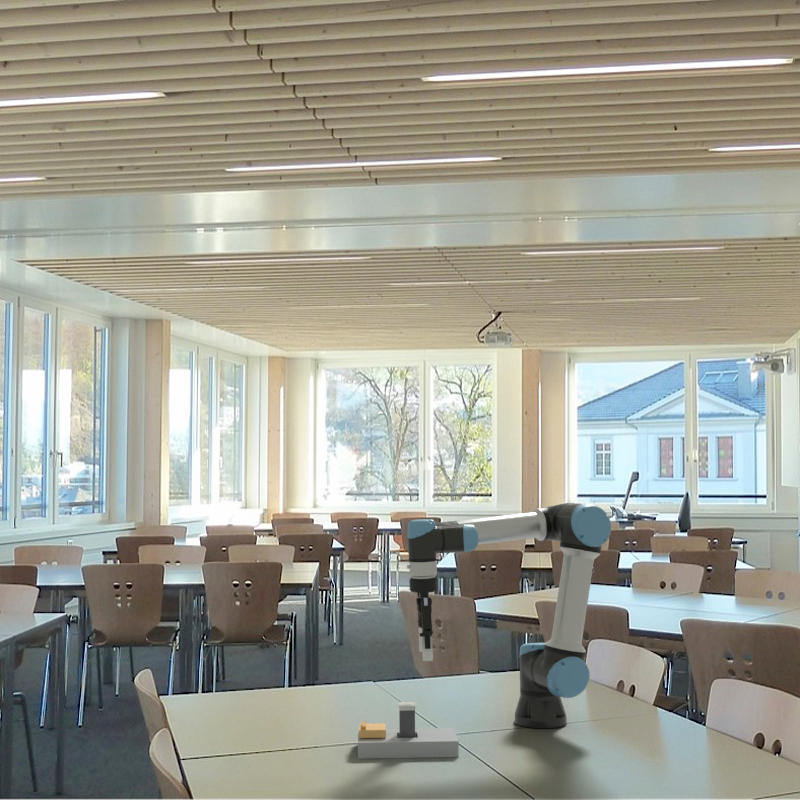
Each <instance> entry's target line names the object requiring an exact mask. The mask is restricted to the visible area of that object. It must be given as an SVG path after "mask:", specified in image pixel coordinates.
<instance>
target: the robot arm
mask: <svg viewBox="0 0 800 800" xmlns="http://www.w3.org/2000/svg"><path fill="white" fill-rule="evenodd" d="M611 533H612V522H611V519H610V517H609V515H608V513H606V511H605V510H604V509H602V508H601V507H600V506H597V505H594V504H591V503H579V502H577V503H575V502H566V503H564V502H563V503H561V504H556V505H551V506H545V507H536V508H534V509H533V511H532V512H524V513H516V514H506V515H505V514H504V515H496V516H486V517H485V516H484V517H480V518H479V517H478V518H469V519H461V520H453V521H451V520H450V521H441V522H440V521H435V520H434V519H429V518H428V519H427V518H426V519H425V518H424V519H423V518H422V519H420V518H419V519H412V520H410V521H408V523H407V536H406V537H407V549H408V564H407V565H406V569H408V570H409V573H408V574H409V575H408V576H409V577H410V578H409V591H410V592H411V593H413V594H414V593H415V594H416V595H417V597H416V598H415V601H416V608H417V623H418V624H417V625H418V644H419V645H418V650H419V653H420V652H421V653H422V661H423V662H434V648H433V647H434V646H433V633H434V631H433V624H432V623H433V622H432V611H433V610H432V609H433V608H432V605H433V600H432V598H431V597H430V596H429V593H435V592H437V590H438V578H437V577H436V576H437V574H438V566H437V565H438V564H437V563H438V562H437V554H439V555H441V554H450V553H451V554H452V553H453V554H454V553H467V552H473V551H475V550H476V549H477V548H478V545H486V544H494V543H504V542H512V541H520V540H530V539H531V540H532V539H535V540H537V541H540V542H545V541H556V542H560V543H559V549H560V551H562V553H563V558H562V566H561V573H560V579H559V584H558V585H559V586H558V592H557V599H556V604H555V605H556V606H555V611H554V617H553V618H554V619H553V625H552V631H551V637H550V639H549V640H547V641H546V642H530V643H523V644H521V646H520V647H519V655H518V658H519V690H520V691H519V698H518V701H517V704H516V709H515V712H514V723H515V724H516V725H518V726H521V727H525V728H532V729H555V728H561V727H564V726H565V725H567V721H568V720H567V713H566V712H567V711H566V709H565V707H564V704H563V700H562V698H564V699H572V698H575V697H577V696H579V695H580V694H582V693H583V692H584V691H585V690H586V688H587V686H588V684H589V683H590V682H589V681H590V677H591V676H590V675H591V674H590V669H589V667H588V665H587V663H586V662H585V661H586V653H587V650H586V649H585V647H584V646H583V644H582V642H583V637H584V630H585V629H584V628H585V623H586V616H587V609H588V603H589V595H590V589H591V582H592V576H593V570H594V569H593V568H594V562H595V559H597V558H598V557H599V556H600V555H601V552H602V551H601V550H602V547H603V546H602V545H604V544H605V543H606V542H607V541H608V540H609V538H610V536H611Z"/></svg>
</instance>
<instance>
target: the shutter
mask: <svg viewBox="0 0 800 800" xmlns="http://www.w3.org/2000/svg"><path fill="white" fill-rule="evenodd" d="M386 726H387V725H386V723H367V721H364V720H363V721H361V723H359V726H358V729H359V738H386V729H387V727H386Z"/></svg>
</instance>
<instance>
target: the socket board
mask: <svg viewBox="0 0 800 800" xmlns="http://www.w3.org/2000/svg"><path fill="white" fill-rule="evenodd" d="M357 731H358V733H357V759H407V758H409V759H413V758H415V759H416V758H417V759H418V758H422V759H423V758H459V756H460V754H459V750H460V748H459V743H460V742H459V739H458V738H459V737H458V736H457V732H456V729H455V727H437V728H436V727H432V728H430V727H428V728H425V727H424V728H416V727H415V738H399V728H386V738H359V728H358V729H357Z"/></svg>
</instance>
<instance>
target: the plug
mask: <svg viewBox="0 0 800 800" xmlns="http://www.w3.org/2000/svg"><path fill="white" fill-rule="evenodd" d="M398 709H399V712H398V715H399V718H398V719H399V722H398V724H399V725H398V726H399V728H398V729H399V738H415V729H416V703H415V702H413V701H410V702H409V701H408V702H405V701H404V702H403V701H402V702H398Z"/></svg>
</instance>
